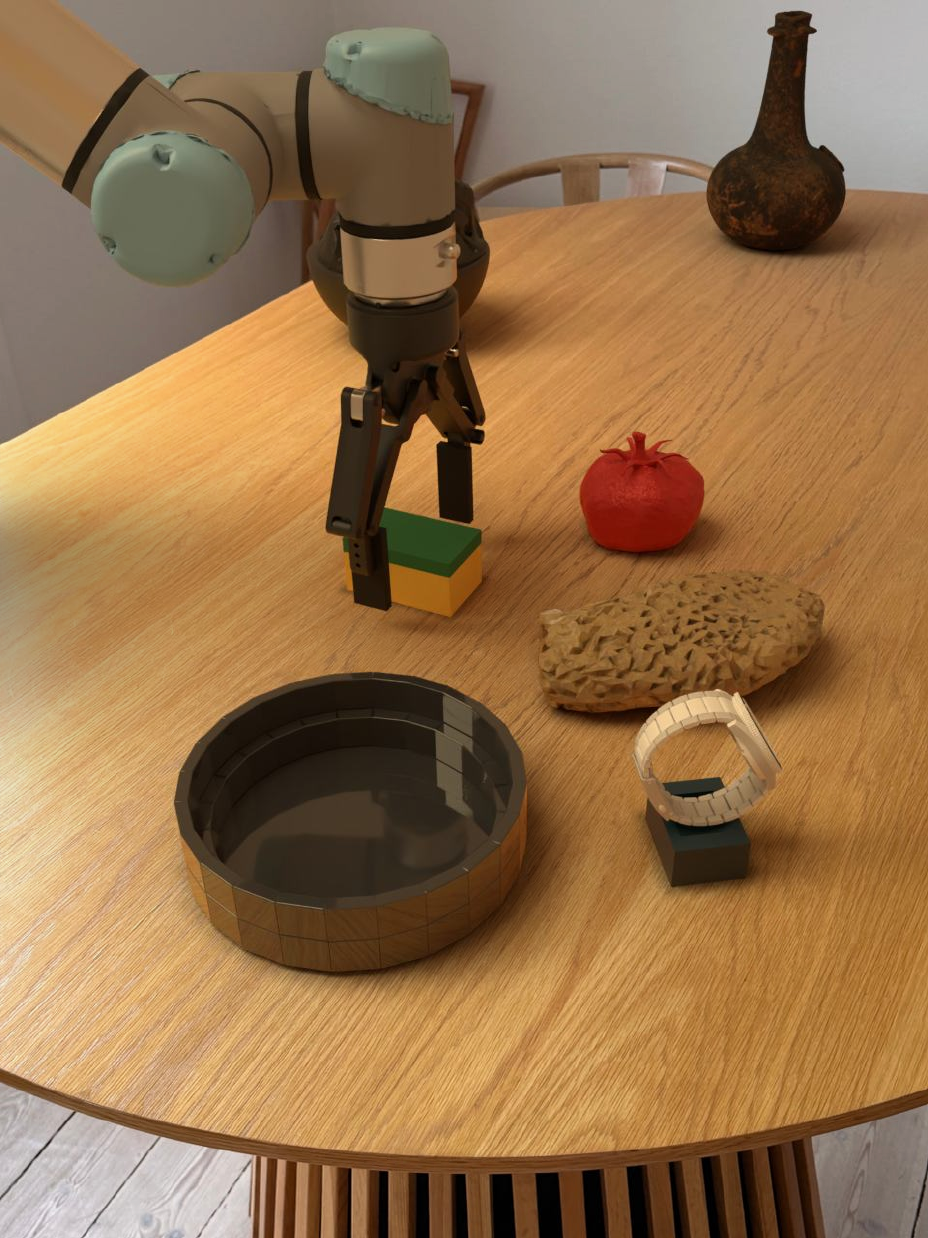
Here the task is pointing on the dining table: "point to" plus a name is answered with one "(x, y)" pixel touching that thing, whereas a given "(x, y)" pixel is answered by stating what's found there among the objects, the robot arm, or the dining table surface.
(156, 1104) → the dining table surface
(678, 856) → the watch
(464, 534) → the dish sponge
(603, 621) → the sponge
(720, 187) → the glass bottle
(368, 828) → the bowl
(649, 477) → the red tomato
